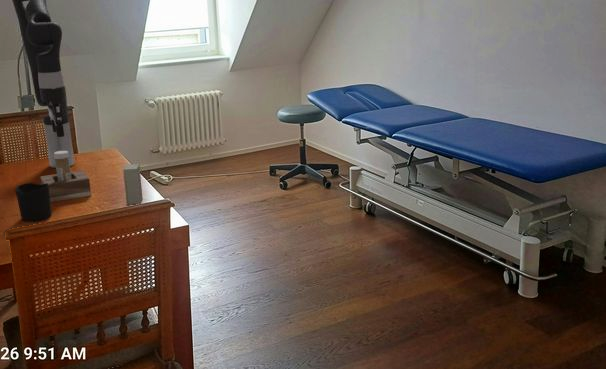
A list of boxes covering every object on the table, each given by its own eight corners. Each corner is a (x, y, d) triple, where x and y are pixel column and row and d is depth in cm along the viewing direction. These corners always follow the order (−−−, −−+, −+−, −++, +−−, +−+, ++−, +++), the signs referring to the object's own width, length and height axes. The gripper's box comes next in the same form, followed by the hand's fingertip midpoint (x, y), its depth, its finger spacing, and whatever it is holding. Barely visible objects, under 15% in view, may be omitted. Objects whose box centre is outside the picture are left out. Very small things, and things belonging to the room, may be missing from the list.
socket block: (42, 193, 219) (40, 176, 217) (84, 186, 225) (82, 170, 224) (47, 202, 209) (45, 185, 207) (91, 195, 215) (89, 178, 214)
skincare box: (129, 199, 211) (125, 164, 207) (143, 198, 211) (139, 163, 207) (126, 205, 205) (122, 169, 201) (140, 204, 205) (136, 168, 201)
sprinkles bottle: (74, 190, 216) (69, 152, 212) (60, 192, 214) (55, 154, 210) (71, 187, 220) (66, 149, 216) (57, 189, 218) (52, 151, 214)
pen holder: (46, 210, 202) (42, 180, 199) (57, 217, 195) (53, 186, 192) (16, 217, 196) (10, 186, 193) (26, 225, 189) (21, 193, 186)
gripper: (36, 83, 210) (43, 131, 215) (42, 89, 198) (50, 140, 203) (60, 81, 214) (66, 128, 219) (67, 87, 202) (74, 136, 207)
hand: (58, 134), depth 211 cm, fingers open, 8 cm apart
